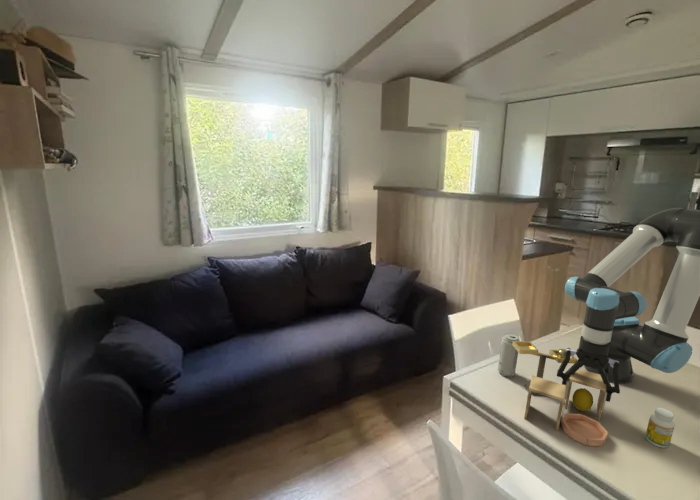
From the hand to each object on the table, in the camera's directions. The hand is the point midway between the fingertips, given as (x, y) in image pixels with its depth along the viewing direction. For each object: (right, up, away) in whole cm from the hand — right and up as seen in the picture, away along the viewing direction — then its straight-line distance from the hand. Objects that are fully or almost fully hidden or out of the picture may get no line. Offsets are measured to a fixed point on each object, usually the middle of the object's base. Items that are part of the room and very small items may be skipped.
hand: (583, 402), depth 115 cm
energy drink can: (-16, +2, +20) cm, 26 cm away
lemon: (-1, -3, +1) cm, 3 cm away
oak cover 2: (0, -2, 0) cm, 2 cm away
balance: (-9, 0, +10) cm, 14 cm away
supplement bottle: (+14, -6, -12) cm, 19 cm away
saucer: (-6, -5, -9) cm, 12 cm away
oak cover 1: (-15, -3, -3) cm, 15 cm away
